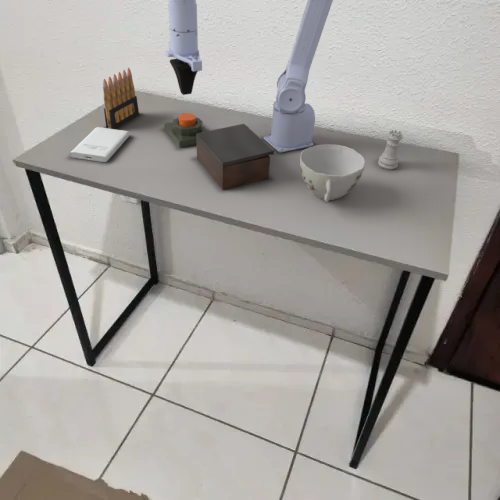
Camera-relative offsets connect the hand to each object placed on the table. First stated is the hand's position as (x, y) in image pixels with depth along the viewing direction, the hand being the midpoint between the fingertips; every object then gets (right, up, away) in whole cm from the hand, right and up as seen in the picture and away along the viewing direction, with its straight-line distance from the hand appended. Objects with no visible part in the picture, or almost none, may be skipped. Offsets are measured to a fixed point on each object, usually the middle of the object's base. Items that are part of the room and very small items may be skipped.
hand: (186, 93), depth 105 cm
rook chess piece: (+45, -16, 0) cm, 48 cm away
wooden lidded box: (+10, -18, -4) cm, 21 cm away
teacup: (+30, -24, -11) cm, 40 cm away
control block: (-1, -8, +7) cm, 10 cm away
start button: (0, -6, +5) cm, 7 cm away
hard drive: (-19, -12, +1) cm, 23 cm away
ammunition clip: (-17, -4, +11) cm, 21 cm away
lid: (+11, -13, -8) cm, 19 cm away
